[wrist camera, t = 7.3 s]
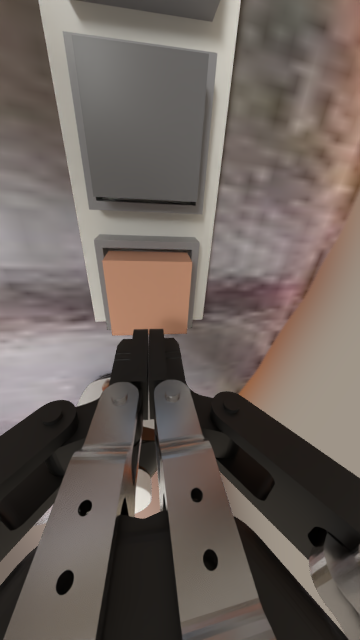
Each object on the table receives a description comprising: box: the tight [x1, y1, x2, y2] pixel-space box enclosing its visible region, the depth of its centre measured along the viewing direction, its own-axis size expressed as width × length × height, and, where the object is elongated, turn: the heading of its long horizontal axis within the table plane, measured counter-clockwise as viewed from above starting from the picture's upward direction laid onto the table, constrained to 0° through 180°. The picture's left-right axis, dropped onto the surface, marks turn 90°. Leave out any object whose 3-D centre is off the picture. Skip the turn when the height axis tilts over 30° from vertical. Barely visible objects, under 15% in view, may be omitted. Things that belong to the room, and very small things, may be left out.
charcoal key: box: [71, 35, 209, 202], centre depth 11 cm, size 6×6×2 cm
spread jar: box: [77, 375, 157, 513], centre depth 24 cm, size 12×11×12 cm
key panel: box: [38, 0, 241, 330], centre depth 14 cm, size 26×10×4 cm, turn 177°
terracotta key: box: [102, 251, 192, 335], centre depth 16 cm, size 6×6×2 cm
